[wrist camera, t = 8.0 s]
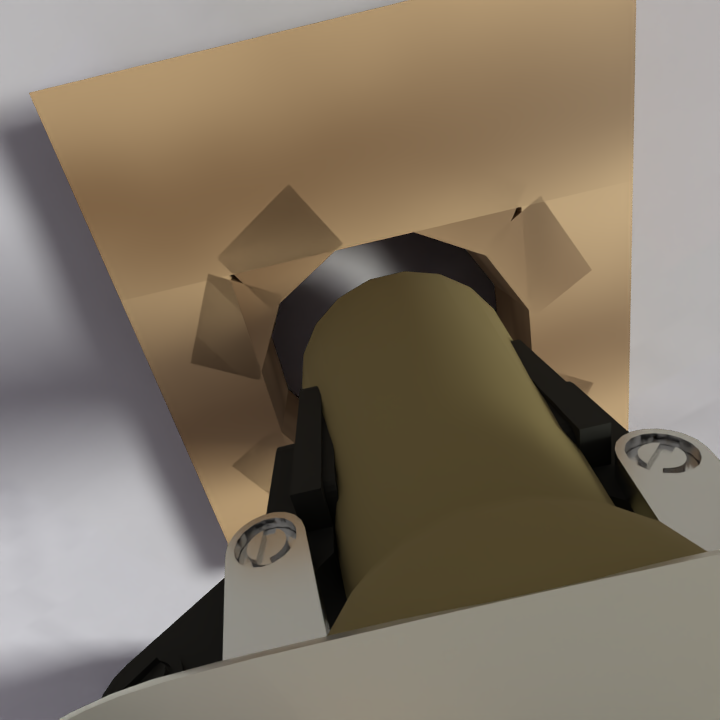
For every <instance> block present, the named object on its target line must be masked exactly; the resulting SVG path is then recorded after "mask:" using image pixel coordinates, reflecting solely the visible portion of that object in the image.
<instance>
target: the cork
mask: <svg viewBox="0 0 720 720" xmlns="http://www.w3.org/2000/svg"><path fill="white" fill-rule="evenodd" d="M511 341H513V340H512V338H511V336H510V335H509V333H508V332H507V330H506V328H505V327H504V325H503V323H502V322H501V320H500V319H499V317H498V315H497V314H496V312H495V310H494V309H493V308H492V307H491V306H490V305H489V304H488V303H487V302H486V301H484V300H483V299H482V298H481V297H480V296H479V295H478V294H477V293H476V292H475V291H474V290H473V289H472V288H471V287H468V286H466V285H464V284H461V283H459V282H457V281H454V280H452V279H450V278H448V277H445V276H443V275H441V274H432V273H419V272H406V271H404V272H399V273H395V274H391V275H387V276H383V277H379V278H374V279H370V280H368V281H366V282H365V283H363V284H361V285H360V286H358V287H356V288H355V289H353V290H351V291H350V292H348V293H346V294H345V295H343V296H341V297H340V298H338V299H337V301H336V302H335V303H334V304H333V305H332V306H331V307H330V309H329V310H328V311H327V312H326V313H325V314H324V316H323V317H322V318H321V319H320V320H319V321H318V322H317V324H316V325H315V328H314V330H313V333H312V335H311V337H310V340H309V342H308V345H307V347H306V350H305V352H304V355H303V375H302V387H303V389H305V388H309V387H314V386H318V388H319V390H320V393H321V399H322V413H323V416H324V419H325V422H326V425H327V428H328V431H329V434H330V437H331V440H332V443H333V447H334V457H335V467H336V477H337V487H338V497H339V499H338V501H337V505H336V516H335V527H334V528H335V535H336V543H337V552H338V560H339V565H340V570H341V574H342V579H343V584H344V589H345V594H346V598H347V601H346V603H345V605H344V607H343V609H342V610H341V612H340V614H339V616H338V617H337V619H336V621H335V623H334V625H333V626H332V628H331V630H330V632H329V633H328V636H329V635H333V634H338V633H342V632H347V631H351V630H355V629H360V628H364V627H369V626H373V625H377V624H382V623H386V622H391V621H395V620H399V619H405V618H410V617H414V616H419V615H424V614H430V613H435V612H440V611H445V610H450V609H456V608H461V607H466V606H472V605H477V604H483V603H488V602H493V601H498V600H503V599H507V598H512V597H516V596H521V595H526V594H530V593H535V592H539V591H544V590H548V589H553V588H557V587H562V586H566V585H571V584H576V583H580V582H585V581H589V580H594V579H598V578H602V577H605V576H609V575H613V574H617V573H620V572H624V571H628V570H632V569H636V568H640V567H644V566H648V565H652V564H656V563H660V562H664V561H669V560H672V559H676V558H681V557H685V556H690V555H695V554H699V553H704V552H707V551H706V550H704V549H703V548H701V547H699V546H698V545H696V544H695V543H693V542H692V541H690V540H688V539H687V538H685V537H684V536H682V535H681V534H679V533H677V532H676V531H674V530H673V529H671V528H670V527H668V526H666V525H665V524H663V523H662V522H660V521H657V520H654V519H651V518H648V517H645V516H642V515H639V514H636V513H633V512H630V511H627V510H624V509H621V508H618V507H616V506H615V505H614V503H613V502H612V500H611V498H610V497H609V495H608V494H607V492H606V490H605V489H604V487H603V486H602V484H601V482H600V481H599V479H598V477H597V476H596V474H595V473H594V471H593V469H592V468H591V466H590V464H589V463H588V461H587V460H586V458H585V456H584V455H583V453H582V452H581V451H580V450H579V448H578V447H577V445H576V444H575V443H574V442H573V441H572V440H571V439H570V438H569V437H568V436H567V435H566V433H565V432H564V431H563V430H562V428H561V427H560V425H559V424H558V422H557V420H556V419H555V417H554V415H553V413H552V411H551V410H550V408H549V406H548V404H547V402H546V401H545V399H544V397H543V395H542V394H541V393H540V391H539V390H538V388H537V387H536V386H535V384H534V383H533V381H532V380H531V378H530V377H529V375H528V373H527V371H526V369H525V367H524V366H523V364H522V362H521V360H520V358H519V356H518V355H517V353H516V351H515V349H514V347H513V345H512V344H511Z"/></svg>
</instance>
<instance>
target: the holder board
mask: <svg viewBox="0 0 720 720" xmlns="http://www.w3.org/2000/svg"><path fill="white" fill-rule="evenodd" d="M635 30H636V0H408V1H404V2H400V3H396V4H392V5H388V6H384V7H380V8H376V9H372V10H367V11H363V12H359V13H355V14H351V15H347V16H343V17H339V18H335V19H330V20H326V21H322V22H318V23H314V24H310V25H306V26H302V27H298V28H294V29H289V30H285V31H281V32H277V33H273V34H269V35H265V36H261V37H257V38H252V39H248V40H244V41H240V42H236V43H232V44H228V45H224V46H220V47H216V48H211V49H207V50H203V51H199V52H195V53H191V54H187V55H183V56H179V57H174V58H170V59H166V60H162V61H158V62H154V63H150V64H146V65H142V66H138V67H133V68H129V69H125V70H121V71H117V72H113V73H109V74H105V75H101V76H96V77H92V78H88V79H84V80H80V81H76V82H72V83H68V84H64V85H60V86H55V87H51V88H47V89H43V90H39V91H35V92H31V93H29V94H30V96H31V98H32V101H33V103H34V105H35V107H36V110H37V112H38V114H39V116H40V119H41V121H42V123H43V126H44V128H45V130H46V132H47V135H48V137H49V139H50V141H51V144H52V146H53V148H54V150H55V153H56V155H57V157H58V160H59V162H60V164H61V166H62V169H63V171H64V173H65V175H66V178H67V180H68V182H69V184H70V187H71V189H72V191H73V193H74V196H75V198H76V200H77V203H78V205H79V207H80V209H81V212H82V214H83V216H84V218H85V221H86V223H87V225H88V227H89V230H90V232H91V234H92V237H93V239H94V241H95V243H96V246H97V248H98V250H99V252H100V255H101V257H102V259H103V261H104V264H105V266H106V268H107V271H108V273H109V275H110V277H111V280H112V282H113V284H114V286H115V289H116V291H117V293H118V295H119V298H120V300H121V302H122V304H123V307H124V309H125V311H126V314H127V316H128V318H129V320H130V323H131V325H132V327H133V329H134V332H135V334H136V336H137V338H138V341H139V343H140V345H141V348H142V350H143V352H144V354H145V357H146V359H147V361H148V363H149V366H150V368H151V370H152V372H153V375H154V377H155V379H156V382H157V384H158V386H159V388H160V391H161V393H162V395H163V397H164V400H165V402H166V404H167V406H168V409H169V411H170V413H171V415H172V418H173V420H174V422H175V425H176V427H177V429H178V431H179V434H180V436H181V438H182V440H183V443H184V445H185V447H186V449H187V452H188V454H189V456H190V459H191V461H192V463H193V465H194V468H195V470H196V472H197V474H198V477H199V479H200V481H201V483H202V486H203V488H204V490H205V492H206V495H207V497H208V499H209V502H210V504H211V506H212V508H213V511H214V513H215V515H216V517H217V520H218V522H219V524H220V526H221V529H222V531H223V533H224V536H225V538H226V540H227V542H228V544H229V542H230V540H231V539H232V537H233V536H234V535H235V534H236V532H237V531H238V530H239V529H240V528H241V527H243V526H244V525H245V524H247V523H248V522H250V521H251V520H253V519H255V518H257V517H260V516H262V515H265V514H266V512H267V505H268V499H269V493H270V486H271V480H272V474H273V467H274V461H275V455H276V450H277V448H278V447H281V446H286V445H290V444H294V443H295V436H296V426H297V416H298V405H299V398H297V397H296V396H295V395H294V394H293V393H292V392H291V391H289V390H288V387H287V384H286V381H285V378H284V374H283V371H282V368H281V365H280V362H279V359H278V355H277V352H276V349H275V346H274V343H273V340H272V333H273V329H274V325H275V321H276V317H277V314H278V310H279V306H280V303H281V302H282V301H283V300H284V299H285V298H286V297H287V296H288V295H289V294H290V293H291V292H292V291H293V290H294V289H295V288H296V287H297V286H299V285H300V284H301V283H302V282H303V281H304V280H305V279H306V278H307V277H308V276H309V275H310V274H311V273H312V272H313V271H314V270H315V269H316V268H317V267H318V266H320V265H321V264H322V263H323V262H324V261H325V260H326V259H327V258H328V257H329V256H330V255H331V254H332V253H333V252H334V251H335V250H340V249H344V248H348V247H352V246H357V245H361V244H365V243H369V242H374V241H378V240H382V239H386V238H391V237H395V236H399V235H403V234H408V233H412V232H415V233H418V234H421V235H424V236H427V237H430V238H433V239H436V240H439V241H443V242H446V243H449V244H452V245H455V246H458V247H461V248H464V249H466V250H467V252H468V253H469V254H470V255H471V257H472V258H473V259H474V260H475V262H476V263H477V264H478V265H479V267H480V268H481V269H482V270H483V272H484V273H485V274H486V275H487V277H488V278H489V279H490V280H491V282H492V283H493V284H494V288H495V298H496V308H497V315H498V317H499V319H500V320H501V322H502V323H503V325H504V327H505V328H506V330H507V332H508V333H509V335H510V336H511V338H512V340H513V341H514V340H518V339H519V340H521V341H522V342H523V343H524V344H525V345H526V346H528V347H529V348H530V349H531V350H532V351H533V352H534V353H535V354H536V355H538V356H539V357H540V358H541V359H542V360H543V361H544V362H545V363H546V364H547V365H549V366H550V367H551V368H552V369H553V370H554V371H555V372H556V373H557V374H559V375H560V376H561V377H562V378H563V379H564V380H565V381H571V382H572V383H574V384H575V385H576V386H577V387H579V388H580V389H581V390H582V391H583V392H584V393H585V394H586V395H588V396H589V397H590V398H591V399H592V400H593V401H594V402H595V403H597V404H598V405H599V406H600V407H601V408H602V409H603V410H604V411H606V412H607V413H608V414H609V415H610V416H611V417H612V418H614V419H615V420H616V421H617V422H618V423H619V424H620V425H621V426H623V427H624V428H625V429H626V430H627V431H628V410H629V356H630V302H631V247H632V193H633V139H634V84H635Z"/></svg>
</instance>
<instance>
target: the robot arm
mask: <svg viewBox="0 0 720 720" xmlns="http://www.w3.org/2000/svg"><path fill="white" fill-rule="evenodd" d="M511 344H512V345H513V347H514V349H515V351H516V353H517V355H518V356H519V358H520V360H521V362H522V364H523V366H524V367H525V369H526V371H527V373H528V375H529V377H530V378H531V380H532V381H533V383H534V384H535V386H536V387H537V388H538V390H539V391H540V393H541V394H542V395H543V397H544V399H545V401H546V402H547V404H548V406H549V408H550V410H551V411H552V413H553V415H554V417H555V419H556V420H557V422H558V424H559V425H560V427H561V428H562V430H563V431H564V432H565V433H566V435H567V436H568V437H569V438H570V439H571V440H572V441H573V442H574V443H575V444H576V445H577V447H578V448H579V450H580V451H581V452H582V453H583V455H584V456H585V458H586V460H587V461H588V463H589V464H590V466H591V468H592V469H593V471H594V473H595V474H596V476H597V477H598V479H599V481H600V482H601V484H602V486H603V487H604V489H605V490H606V492H607V494H608V495H609V497H610V498H611V500H612V502H613V503H614V505H615V506H616V507H618V508H621V509H624V510H627V511H630V512H633V513H636V514H639V515H642V516H645V517H648V518H651V519H654V520H657V521H660V522H662V523H663V524H665V525H666V526H668V527H670V528H671V529H673V530H674V531H676V532H677V533H679V534H681V535H682V536H684V537H685V538H687V539H688V540H690V541H692V542H693V543H695V544H696V545H698V546H699V547H701V548H703V549H704V550H706V551H707V552H704V553H699V554H695V555H690V556H685V557H681V558H676V559H672V560H669V561H664V562H660V563H656V564H652V565H648V566H644V567H640V568H636V569H632V570H628V571H624V572H620V573H617V574H613V575H609V576H605V577H602V578H598V579H594V580H589V581H585V582H580V583H576V584H571V585H566V586H562V587H557V588H553V589H548V590H544V591H539V592H535V593H530V594H526V595H521V596H516V597H512V598H507V599H503V600H498V601H493V602H488V603H483V604H477V605H472V606H466V607H461V608H456V609H450V610H445V611H440V612H435V613H430V614H424V615H419V616H414V617H410V618H405V619H399V620H395V621H391V622H386V623H382V624H377V625H373V626H369V627H364V628H360V629H355V630H351V631H347V632H342V633H338V634H333V635H329V636H328V633H329V632H330V630H331V628H332V626H333V625H334V623H335V621H336V619H337V617H338V616H339V614H340V612H341V610H342V609H343V607H344V605H345V603H346V601H347V598H346V594H345V589H344V584H343V579H342V574H341V570H340V565H339V560H338V552H337V543H336V535H335V528H334V527H335V516H336V505H337V501H338V499H339V497H338V487H337V477H336V467H335V457H334V447H333V443H332V440H331V437H330V434H329V431H328V428H327V425H326V422H325V419H324V416H323V413H322V399H321V393H320V390H319V388H318V386H314V387H309V388H305V389H301V390H300V395H299V405H298V416H297V426H296V436H295V443H294V444H290V445H286V446H281V447H278V448H277V450H276V455H275V461H274V467H273V474H272V480H271V486H270V493H269V499H268V505H267V512H266V514H265V515H262V516H260V517H257V518H255V519H253V520H251V521H250V522H248V523H247V524H245V525H244V526H243V527H241V528H240V529H239V530H238V531H237V532H236V534H235V535H234V536H233V537H232V539H231V540H230V542H229V544H228V546H227V550H226V554H225V578H224V579H223V580H221V581H220V582H219V583H218V584H217V585H216V586H215V587H214V588H212V589H211V590H210V591H209V592H208V593H207V594H206V595H205V596H203V597H202V598H201V599H200V600H199V601H198V602H197V603H196V604H195V605H193V606H192V607H191V608H190V609H189V610H188V611H187V612H186V613H184V614H183V615H182V616H181V617H180V618H179V619H178V620H177V621H175V622H174V623H173V624H172V625H171V626H170V627H169V628H168V629H167V630H165V631H164V632H163V633H162V634H161V635H160V636H159V637H158V638H156V639H155V640H154V641H153V642H152V643H151V644H150V645H149V646H147V647H146V648H145V649H144V650H143V651H142V652H141V653H140V654H138V655H137V656H136V657H135V658H134V659H133V660H132V661H131V662H130V663H128V664H127V665H126V666H125V667H124V668H123V669H122V670H121V672H120V673H119V674H118V675H117V676H116V677H115V678H114V679H113V681H112V682H111V684H110V685H109V687H108V688H107V690H106V691H105V693H104V694H103V696H102V698H101V699H99V700H97V701H95V702H93V703H91V704H88V705H86V706H84V707H82V708H80V709H77V710H75V711H73V712H71V713H69V714H67V715H66V716H64V717H62V718H60V719H59V720H720V460H719V459H718V458H717V457H716V456H715V455H714V453H713V452H712V451H711V450H710V449H709V448H708V447H707V446H705V445H704V444H703V443H701V442H700V441H699V440H697V439H695V438H693V437H691V436H688V435H686V434H683V433H680V432H676V431H672V430H665V429H641V430H636V431H632V432H628V431H627V430H626V429H625V428H624V427H623V426H621V425H620V424H619V423H618V422H617V421H616V420H615V419H614V418H612V417H611V416H610V415H609V414H608V413H607V412H606V411H604V410H603V409H602V408H601V407H600V406H599V405H598V404H597V403H595V402H594V401H593V400H592V399H591V398H590V397H589V396H588V395H586V394H585V393H584V392H583V391H582V390H581V389H580V388H579V387H577V386H576V385H575V384H574V383H572V382H571V381H565V380H564V379H563V378H562V377H561V376H560V375H559V374H557V373H556V372H555V371H554V370H553V369H552V368H551V367H550V366H549V365H547V364H546V363H545V362H544V361H543V360H542V359H541V358H540V357H539V356H538V355H536V354H535V353H534V352H533V351H532V350H531V349H530V348H529V347H528V346H526V345H525V344H524V343H523V342H522V341H521V340H519V339H518V340H514V341H511Z"/></svg>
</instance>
